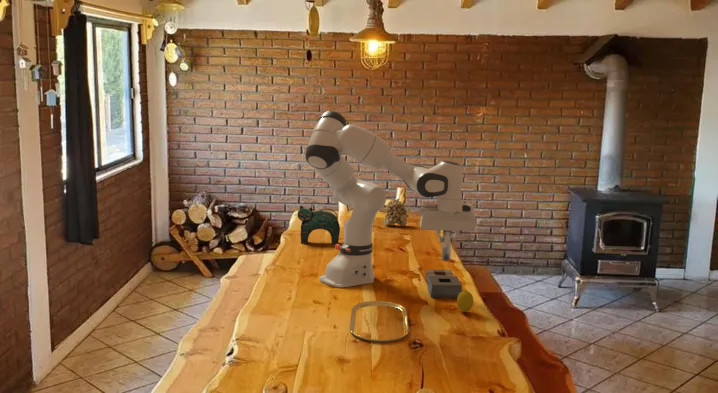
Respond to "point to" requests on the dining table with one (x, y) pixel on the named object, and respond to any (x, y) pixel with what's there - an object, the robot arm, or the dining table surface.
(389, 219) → the mineral formation
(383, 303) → the rounded metal frame
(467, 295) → the lemon
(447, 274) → the socket block
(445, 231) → the steel peg
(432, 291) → the grey square-hole block
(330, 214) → the ceramic cat
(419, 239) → the dining table surface
